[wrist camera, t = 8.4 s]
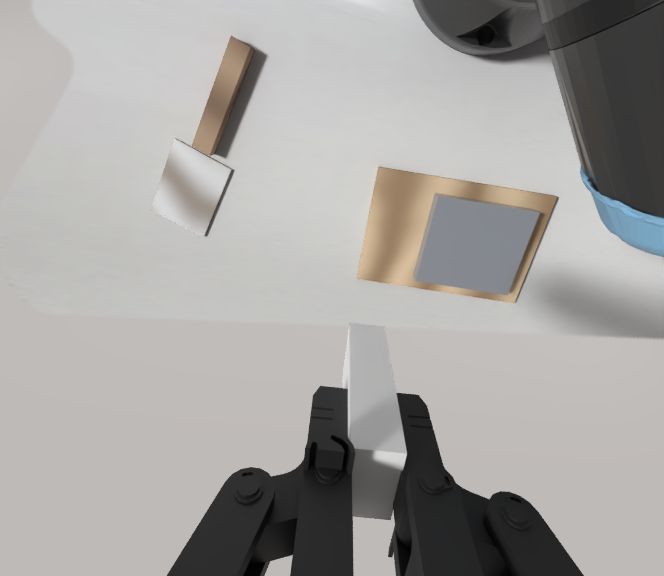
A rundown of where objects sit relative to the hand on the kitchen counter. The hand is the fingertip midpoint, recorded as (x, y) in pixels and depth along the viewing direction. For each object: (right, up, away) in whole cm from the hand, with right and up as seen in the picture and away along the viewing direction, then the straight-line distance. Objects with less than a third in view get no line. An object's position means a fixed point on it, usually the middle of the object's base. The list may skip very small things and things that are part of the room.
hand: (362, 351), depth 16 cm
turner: (-14, +17, +21) cm, 30 cm away
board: (+11, +8, +23) cm, 27 cm away
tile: (+8, +8, +22) cm, 25 cm away
